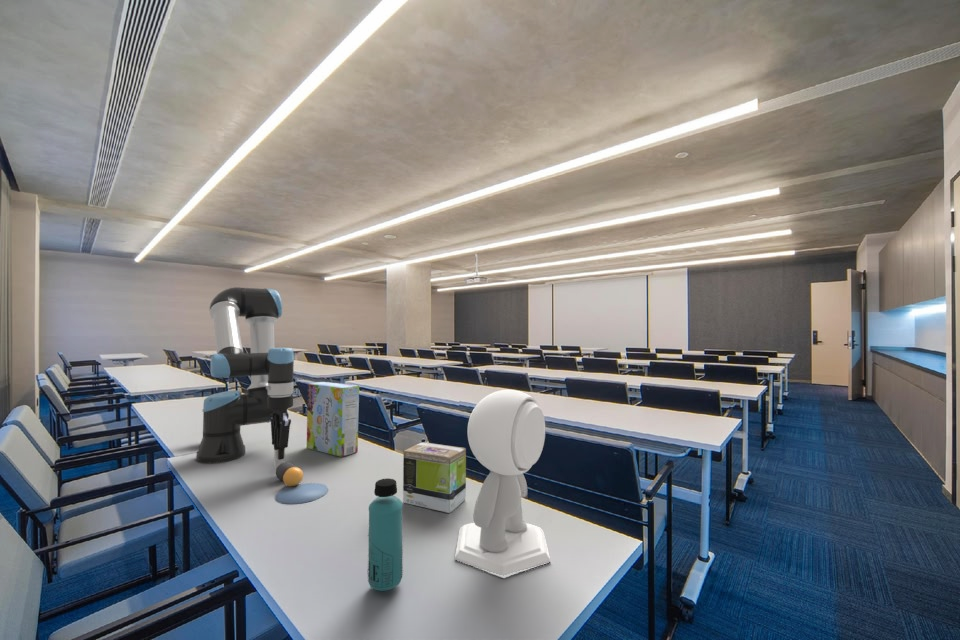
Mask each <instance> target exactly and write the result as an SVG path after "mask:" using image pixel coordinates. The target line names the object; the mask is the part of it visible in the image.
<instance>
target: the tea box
mask: <svg viewBox="0 0 960 640" xmlns="http://www.w3.org/2000/svg"><path fill="white" fill-rule="evenodd" d="M402 461H403V462H402V463H403V464H402V465H403V469H402V470H403V472H402V473H403V475H402V479H403V481H402V482H403V483H402V484H403V485H402V491H403V492H402V494H403V496H402V498H403V499H402V501H403V502H402V503H404V504H407V505H408V504H409V505H412V506H417V507H421V508H426V509H431V510H435V511H440V512H443V513H447V514H450V513H451V512H454V510H455V509H457V507H459V506H460V505H461V504H462V503H463V502H465V500H466V496H467V495H466V491H467V489H466V488H467V480H466V479H467V477H466V476H467V470H466V469H467V448H466V447H461V446H460V447H459V446H453V445H445V444H441V443H440V444H438V443H433V442H432V443H431V442H424V441H422V442H419V443H417V444H415V445H413V446H411V447H409V448H406V449H405V450H403V460H402Z"/></svg>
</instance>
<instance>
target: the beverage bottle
mask: <svg viewBox="0 0 960 640" xmlns="http://www.w3.org/2000/svg"><path fill="white" fill-rule="evenodd" d="M373 493H374V495H375V496H376V497H375V498H374V499H373V501H372V502H371V503H370V504H369V505H368V529H367V532H368V533H367V534H368V535H367V536H368V555H367V558H368V560H367V579H368V580H367V581H368V585H369V586H370V588H372V590H375V591H381V592H383V591H389V590H392V589H394V588H396V587H398V586H399V585H400V583H401V582H402V578H403V576H404V575H403V569H404V566H403V558H404V556H403V546H404V545H403V506H404V504H403V502H402V501H403V500H401V499H400V498H398V497H397V496H395V495H397V493H398V487H397V481H396V479H393V478H381V479H379V480H376V482H375V484H374V492H373Z"/></svg>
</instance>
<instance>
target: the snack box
mask: <svg viewBox="0 0 960 640" xmlns="http://www.w3.org/2000/svg"><path fill="white" fill-rule="evenodd" d="M359 403H360V385H355V384H348V383H347V384H346V383H339V382H328V381H317V382H310V383H307V413H306V415H307V416H306V449H309V450H314V451H318V452H321V453H326V454H329V455H332V456H336V457H340V458H343V457H345V456H350V455H352V454H356V453H358V450H359V449H358V446H359V441H358V440H359V406H360V405H359Z"/></svg>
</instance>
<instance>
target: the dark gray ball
mask: <svg viewBox="0 0 960 640" xmlns="http://www.w3.org/2000/svg"><path fill="white" fill-rule="evenodd" d="M292 467H295V465H294V464H293V463H292V462H289V461H285V462H284V463H281V464H280V465H279V466H278V467H277V469H276V470H275V476H276V478H277V479H278V480H279V481H283V476H284V473H285V472H286V471H287V470H288V469H289V468H292ZM283 482H284V481H283Z"/></svg>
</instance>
